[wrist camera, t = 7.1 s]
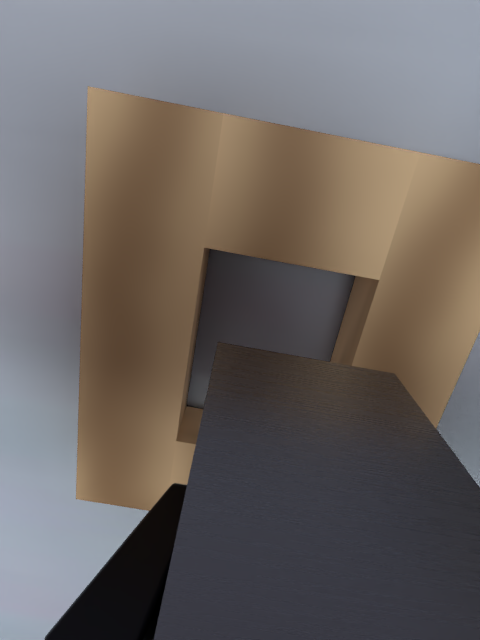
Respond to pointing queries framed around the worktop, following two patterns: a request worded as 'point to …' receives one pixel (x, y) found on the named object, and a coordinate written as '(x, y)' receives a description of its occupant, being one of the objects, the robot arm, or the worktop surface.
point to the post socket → (262, 242)
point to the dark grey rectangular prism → (320, 511)
